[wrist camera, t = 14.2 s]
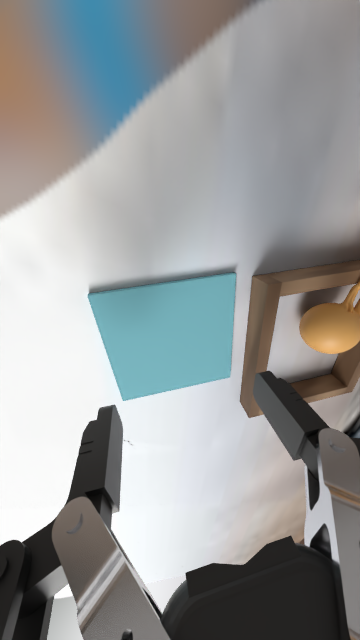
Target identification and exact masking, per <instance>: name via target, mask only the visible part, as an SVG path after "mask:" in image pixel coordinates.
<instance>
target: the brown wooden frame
mask: <svg viewBox="0 0 360 640" xmlns="http://www.w3.org/2000/svg"><path fill="white" fill-rule="evenodd" d="M359 281H360V260H355V261H348V262H342V263H335V264H329V265H322V266H316V267H309V268H302V269H296V270H289V271H283V272H276V273H270V274H263V275H256V276H252V285H251V295H250V305H249V315H248V325H247V335H246V345H245V355H244V365H243V375H242V385H241V395H240V403H241V405H242V406H243V408H244V410H245V412H246V413H247V415H248V417H249V418H251V417H255V416H259V415H263V412H262V410H261V409H260V407H259V406H258V404H257V403H256V401H255V399H254V396H253V387H254V380H255V375H256V373H260V372H265V371H266V370H267V364H268V359H269V353H270V347H271V342H272V336H273V331H274V325H275V319H276V314H277V308H278V303H279V297H280V296H286V295H291V294H297V293H303V292H309V291H315V290H321V289H327V288H333V287H338V286H344V285H350V284H356V283H358V282H359ZM359 377H360V341H359V342H358V343H357V344H356V345H355V346H354V347H353V348H351V349H350V350H348V351H345V352H342V353H339V355H338V357H337V360H336V362H335V365H334V367H333V370H332V372H331V374H328V375H324V376H320V377H316V378H311V379H307V380H303V381H299V382H295V383H290V385H291V386H292V387H293V388H294V389H295V390H296V391H297V393H299V394H300V396H301V397H302V398H303V400H305V401H306V402H307V403H310V402H314V401H318V400H322V399H326V398H330V397H333V396H337V395H341V394H345V393H349V392H352V391H353V389H354V387H355V385H356V383H357V381H358V379H359Z"/></svg>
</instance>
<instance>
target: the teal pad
mask: <svg viewBox="0 0 360 640" xmlns="http://www.w3.org/2000/svg"><path fill="white" fill-rule="evenodd" d="M235 285H236V273H234V272H232V273H225V274H218V275H212V276H205V277H198V278H191V279H184V280H178V281H171V282H164V283H157V284H150V285H144V286H137V287H130V288H123V289H116V290H110V291H103V292H96V293H89V294H88V299H89V302H90V305H91V308H92V311H93V314H94V317H95V320H96V323H97V325H98V328H99V331H100V334H101V337H102V340H103V343H104V346H105V349H106V352H107V355H108V358H109V361H110V364H111V367H112V370H113V373H114V376H115V379H116V382H117V385H118V388H119V390H120V393H121V396H122V399H123V401H126V400H130V399H135V398H139V397H144V396H148V395H153V394H157V393H162V392H166V391H171V390H175V389H179V388H184V387H188V386H193V385H197V384H202V383H206V382H211V381H215V380H220V379H224V378H229V377H230V371H231V354H232V337H233V320H234V303H235Z"/></svg>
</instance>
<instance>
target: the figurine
mask: <svg viewBox="0 0 360 640" xmlns="http://www.w3.org/2000/svg"><path fill="white" fill-rule="evenodd" d="M359 289H360V281H359V282H358V283H357V284H356V285H354V286H353V287H352V288H351V290H350V292H349V293H348V295H347V297H346V299H345V300H344V302H343V303H341V304H338V303H323V304H319V305H316V306H314V307H312V308H310V309H309V310H308V311H307V312H306V313H305V314H304V315H303V317H302V319H301V321H300V326H299V330H300V334H301V337H302V339H303V340H304V342H305V343H306V344H307V345H308V346H310V347H311V348H313V349H314V350H316V351H319V352H322V353H328V354H336V353H342V352H345V351H348V350H350V349H351V348H353V347H354V346H355V345H356V344H357V343H358V342H359V341H360V299H359V301H358V302H357V304H356V305H355V307H353V301H354V299H355V297H356V295H357V293H358V291H359Z"/></svg>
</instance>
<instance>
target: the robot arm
mask: <svg viewBox="0 0 360 640" xmlns="http://www.w3.org/2000/svg"><path fill="white" fill-rule="evenodd" d="M253 396H254V399H255V401H256V403H257V404H258V406H259V407H260V409H261V410H262V412H263V414H264V415H265V417H266V418H267V420H268V421H269V423H270V424H271V426H272V428H273V429H274V431H275V432H276V434H277V435H278V437H279V438H280V440H281V442H282V443H283V445H284V446H285V448H286V449H287V451H288V453H289V454H290V456H291V457H292V459H293V460H298V459H301V458H302V460H303V461H304V463H305V487H306V508H307V512H306V520H305V531H304V536H305V545H303V544H299V543H294V541H293V539H292V537H291V536H289V537H286V538H283V539H280V540H277V541H274V542H272V543H269V544H266V545H265V546H264V547H263V548H262V549H261V550H260V551H259V552H258V553H257V554H256V555H255V556H253V557H252V558H251V559H250V560H249V561H248V562H247V563H246V564H244V565H232V564H218V563H212V564H209V565H206V566H204V567H201V568H198V569H195V570H192V571H189V572H187V573H186V580H185V581H184V582H183V583H182V584H181V585H180V586H179V587H178V588H177V590H176V591H175V592H174V594H173V595H172V597H171V598H170V600H169V602H168V603H167V605H166V608H165V609H164V612H163V614H162V612H161V610H160V609H159V607H158V605H157V604H156V602H155V600H154V599H153V597H152V595H151V594H150V592H149V590H148V589H147V587H146V586H145V584H144V582H143V581H142V579H141V578H140V576H139V575H138V573H137V571H136V570H135V568H134V567H133V565H132V563H131V562H130V560H129V558H128V557H127V555H126V553H125V552H124V550H123V548H122V547H121V545H120V543H119V542H118V540H117V538H116V536H115V535H114V533H113V531H112V530H111V519H112V513H115V512H119V505H120V484H121V463H122V442H123V427H122V422H121V419H120V416H119V414H118V411H117V408H116V406H115V405H111V406H106V407H102V408H100V409H99V411H98V417H97V420H94V421H90V422H89V424H88V425H87V427H86V429H85V430H84V432H83V436H82V440H81V446H80V449H79V456H78V458H77V462H76V467H75V471H74V476H73V480H72V484H71V489H70V493H69V497H68V500H67V502H66V504H65V506H64V507H63V509H62V510H61V511H60V513H59V514H58V516H57V517H56V518H55V519H54V520H53V521H52V522H51V523H50V524H48V525H47V526H46V527H44V528H43V529H41V530H40V531H38V532H37V533H35V534H34V535H32V536H31V537H29V538H28V539H26V540H25V541H23V542H22V543H21V542H20V541H18V540H11V541H8V542H6V543H4V544H2V545H1V546H0V640H47V634H48V629H49V623H50V617H51V611H52V604H53V599H54V595H55V594H56V593H57V592H59V591H60V590H61V589H62V588H64V587H65V586H66V585H67V584H68V583H69V586H70V588H71V591H72V594H73V596H74V598H75V601H76V604H77V609H78V612H77V619H78V623H79V628H80V630H81V634H82V637H83V639H84V640H360V438H351V437H348V436H347V435H345V434H344V433H342V432H340V431H338V430H336V429H332V428H330V427H329V426H328V425H327V424H326V423H325V422H324V421H323V420H322V419H321V418H320V417H319V415H318V414H317V413H316V412H315V411H314V410H313V409H312V408H311V407H310V405H309V404H308V403H307V402H306V401H305V400H303V398H302V397H301V396H300V394H299V393H297V391H296V390H295V389H294V388H293V387H292V386H291V385H290V384H289V383H288V382H286V381H285V380H283V379H281V378H278V379H277V378H276V377H275V376H274V375H273V373H272V372H270V371H265V372H260V373H256V375H255V380H254V387H253Z"/></svg>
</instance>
